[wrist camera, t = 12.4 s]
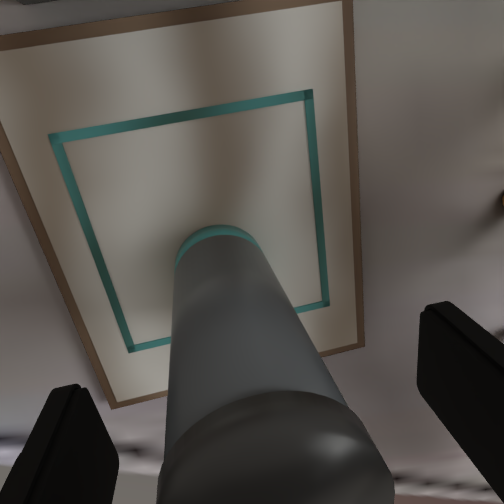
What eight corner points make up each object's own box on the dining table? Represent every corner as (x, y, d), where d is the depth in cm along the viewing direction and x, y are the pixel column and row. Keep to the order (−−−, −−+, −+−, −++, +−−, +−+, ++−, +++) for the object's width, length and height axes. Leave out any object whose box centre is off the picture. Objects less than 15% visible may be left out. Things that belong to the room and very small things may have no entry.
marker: (258, 213, 17) (395, 405, 6) (271, 296, 19) (394, 560, 8) (162, 233, 17) (119, 480, 6) (184, 316, 18) (186, 626, 7)
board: (343, -10, 15) (353, -17, 14) (358, 338, 22) (366, 348, 21) (-34, 45, 13) (-49, 41, 13) (113, 398, 21) (110, 412, 20)
